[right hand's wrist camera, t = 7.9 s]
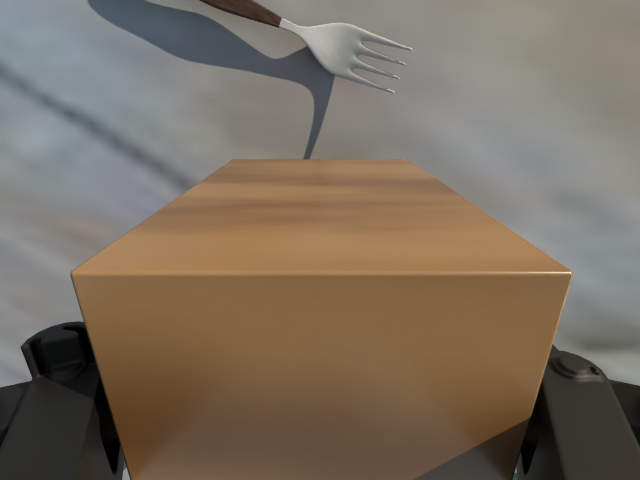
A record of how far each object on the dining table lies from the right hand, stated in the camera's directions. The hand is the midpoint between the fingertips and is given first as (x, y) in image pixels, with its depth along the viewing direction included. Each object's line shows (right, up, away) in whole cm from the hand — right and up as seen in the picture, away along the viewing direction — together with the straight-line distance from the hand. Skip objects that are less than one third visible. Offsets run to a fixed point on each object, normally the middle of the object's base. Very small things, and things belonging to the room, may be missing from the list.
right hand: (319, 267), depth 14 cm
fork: (-3, +13, +5) cm, 14 cm away
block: (0, +1, +2) cm, 3 cm away
